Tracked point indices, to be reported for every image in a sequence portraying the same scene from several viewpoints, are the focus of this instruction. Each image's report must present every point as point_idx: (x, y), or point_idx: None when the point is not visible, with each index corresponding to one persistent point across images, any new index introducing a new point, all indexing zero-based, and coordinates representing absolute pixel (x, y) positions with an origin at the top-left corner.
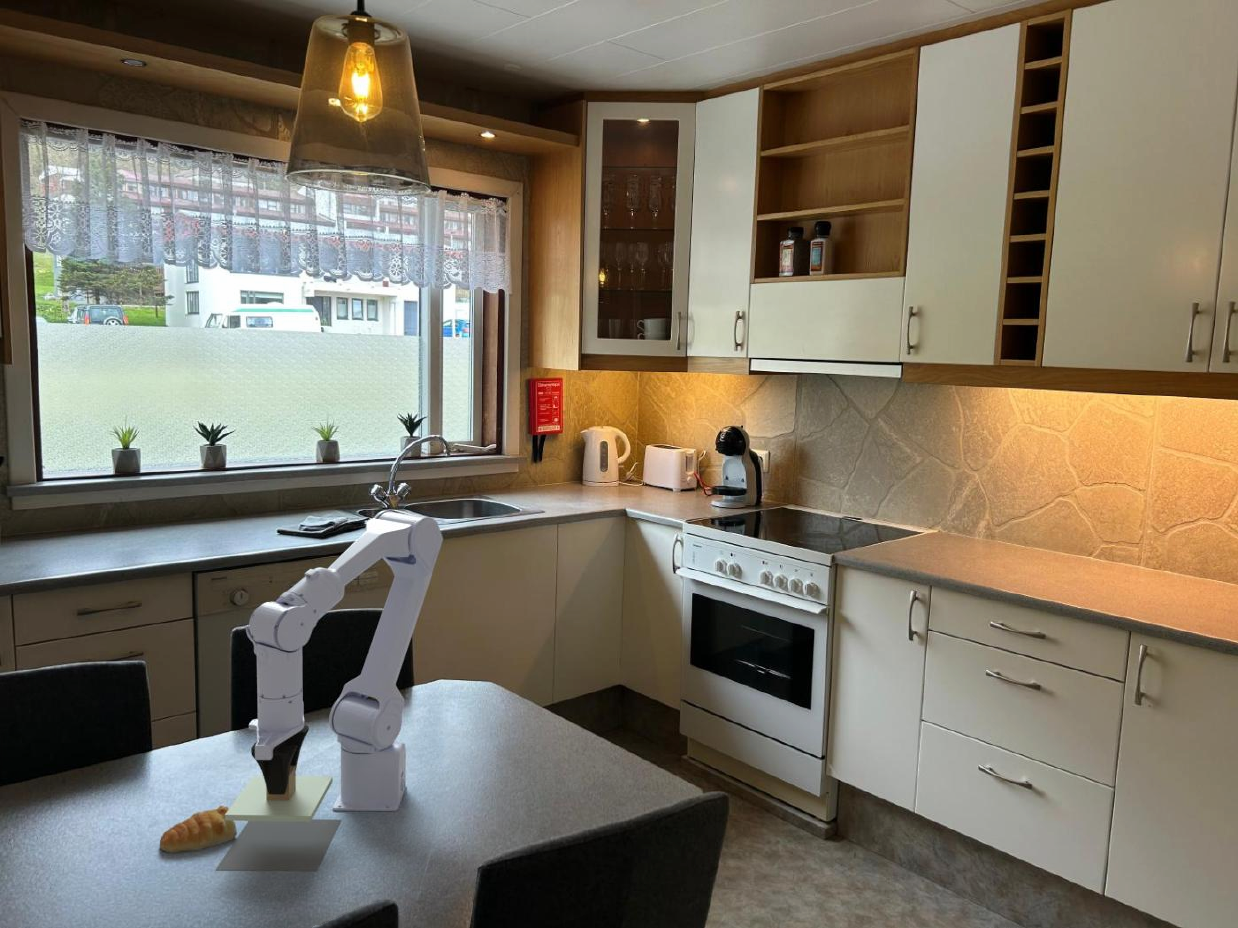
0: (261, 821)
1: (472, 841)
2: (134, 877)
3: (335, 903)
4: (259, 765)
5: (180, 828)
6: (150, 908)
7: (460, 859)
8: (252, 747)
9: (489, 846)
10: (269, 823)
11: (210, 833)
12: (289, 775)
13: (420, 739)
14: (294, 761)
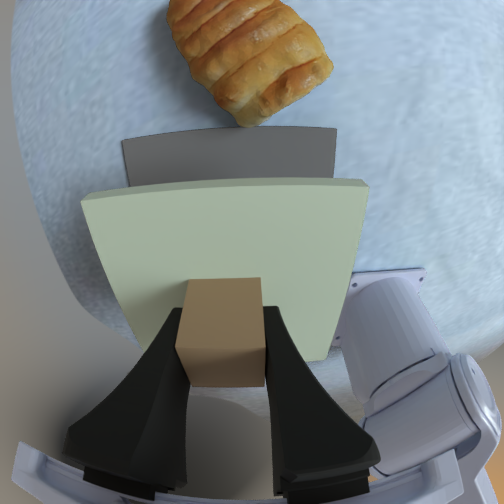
0: (323, 157)
1: (255, 395)
2: (96, 11)
3: (111, 324)
4: (109, 394)
5: (214, 7)
6: (29, 104)
7: (221, 392)
8: (75, 458)
9: (247, 402)
10: (313, 177)
11: (205, 82)
12: (196, 385)
13: (487, 308)
14: (268, 395)
